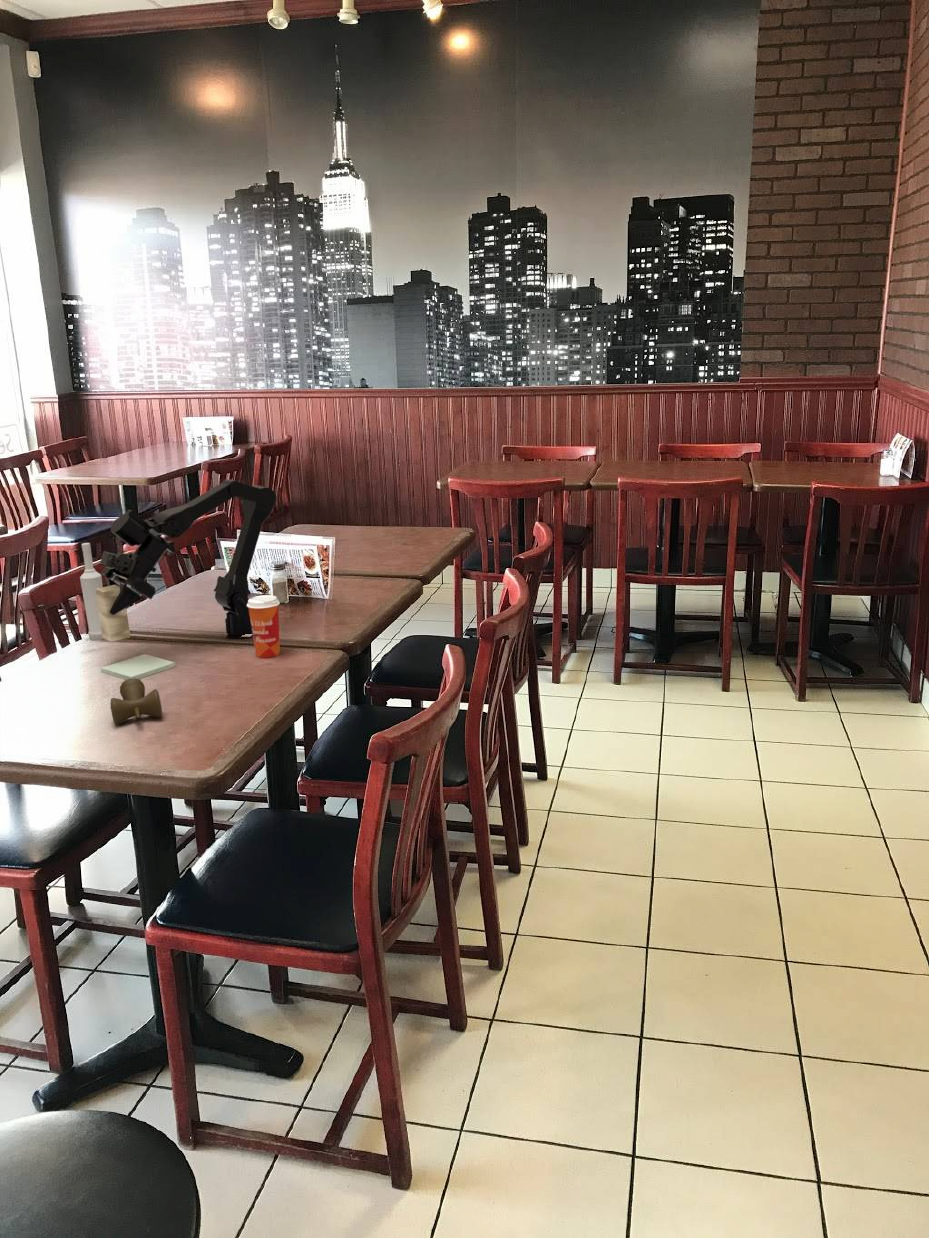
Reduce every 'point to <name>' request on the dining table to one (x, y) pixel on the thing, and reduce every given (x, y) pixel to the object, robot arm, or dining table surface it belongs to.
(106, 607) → the birch block
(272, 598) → the paper cup
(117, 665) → the sage pad
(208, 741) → the dining table surface
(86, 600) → the bottle
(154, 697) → the kendama
